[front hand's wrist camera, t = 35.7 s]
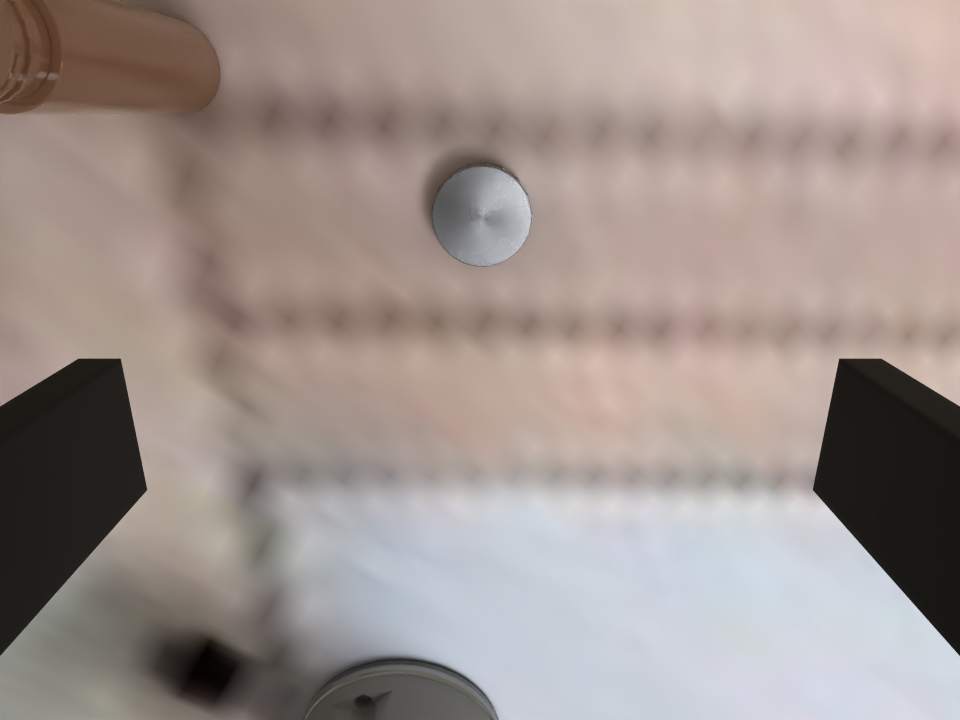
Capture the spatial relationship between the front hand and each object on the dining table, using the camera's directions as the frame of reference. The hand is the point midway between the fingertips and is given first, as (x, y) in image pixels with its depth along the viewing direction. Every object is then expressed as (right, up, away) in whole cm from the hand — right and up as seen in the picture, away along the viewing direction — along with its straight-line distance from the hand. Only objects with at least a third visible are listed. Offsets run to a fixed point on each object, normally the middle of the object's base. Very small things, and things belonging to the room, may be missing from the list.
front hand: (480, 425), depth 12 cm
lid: (0, +9, +23) cm, 25 cm away
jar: (-16, +17, +22) cm, 32 cm away
